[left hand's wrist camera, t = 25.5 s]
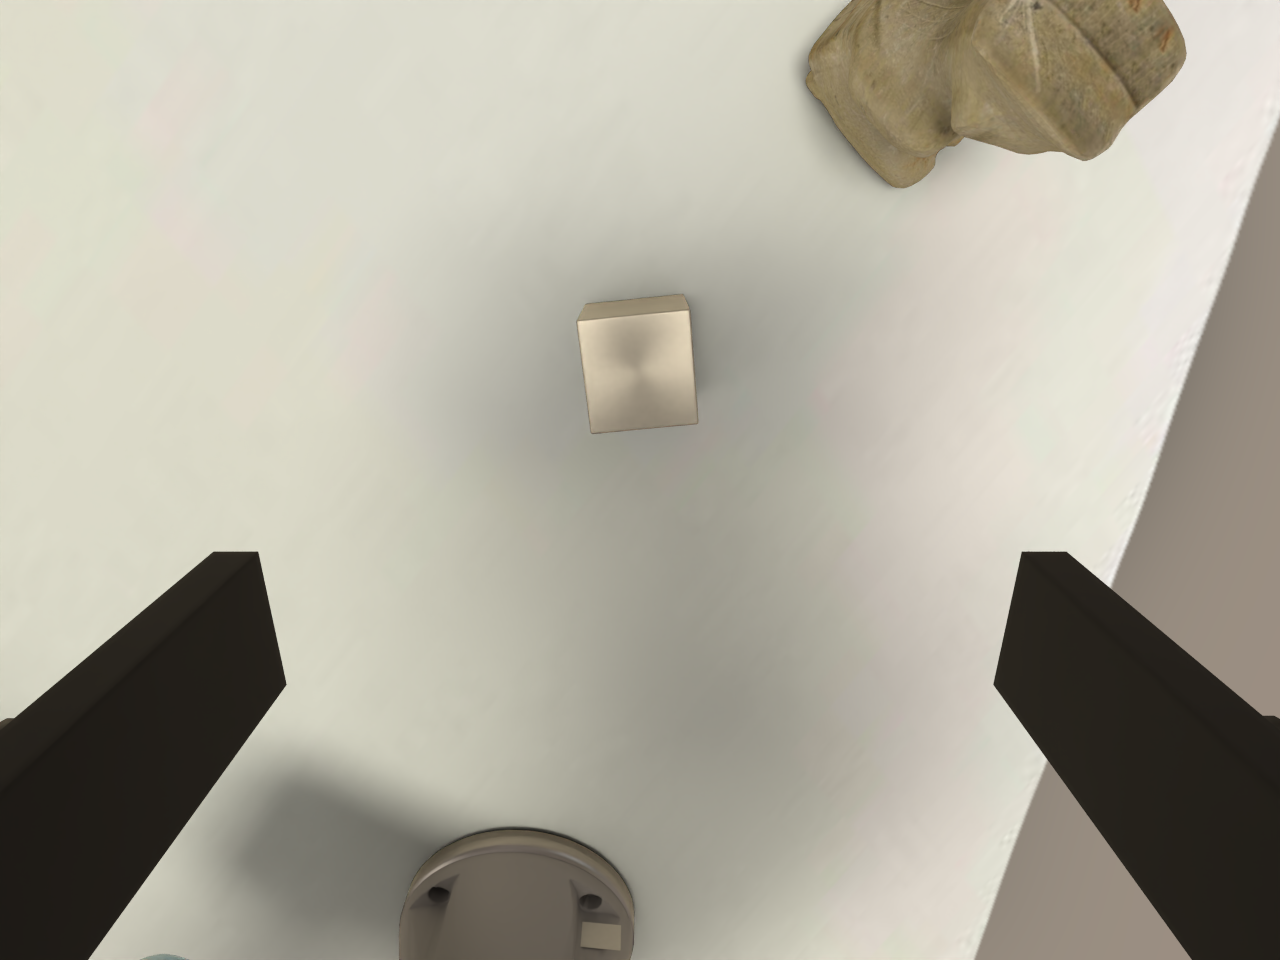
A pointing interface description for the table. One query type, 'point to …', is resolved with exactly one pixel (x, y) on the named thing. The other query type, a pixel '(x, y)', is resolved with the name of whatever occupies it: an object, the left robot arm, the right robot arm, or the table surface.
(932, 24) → the sculpture
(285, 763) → the table surface
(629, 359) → the metal cube
